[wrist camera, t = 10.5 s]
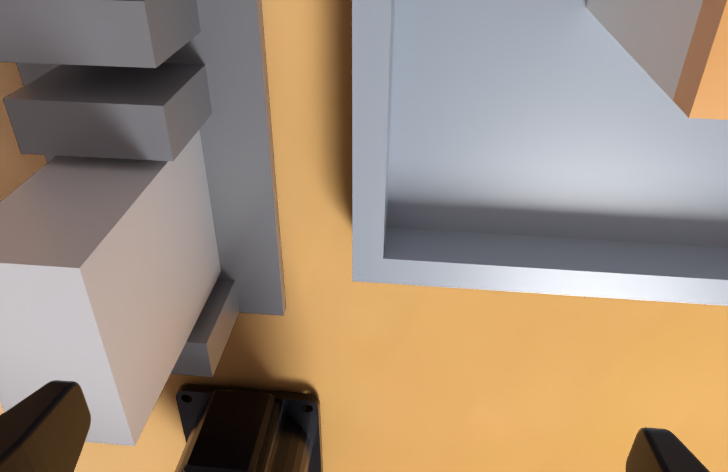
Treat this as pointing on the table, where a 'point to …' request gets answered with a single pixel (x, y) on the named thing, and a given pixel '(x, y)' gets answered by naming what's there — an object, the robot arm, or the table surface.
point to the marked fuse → (675, 47)
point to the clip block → (162, 122)
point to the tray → (527, 157)
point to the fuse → (104, 281)
